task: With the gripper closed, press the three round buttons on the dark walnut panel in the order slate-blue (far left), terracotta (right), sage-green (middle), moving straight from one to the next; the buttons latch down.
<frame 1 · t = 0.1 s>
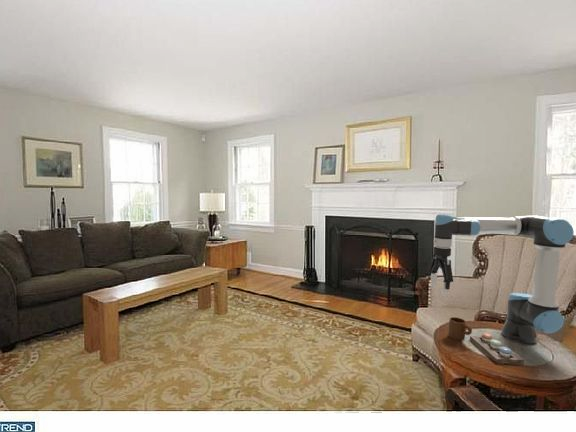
hand: (439, 290, 155), 28 cm above the table, fingers open, 13 cm apart
sage button: (495, 344, 154), point 3 cm above the table, slide at 0.0 cm
mug: (459, 339, 166), on the table
button panel: (494, 351, 155), on the table
blue button: (504, 352, 147), point 3 cm above the table, slide at 0.0 cm
terracotta button: (486, 337, 161), point 3 cm above the table, slide at 0.0 cm
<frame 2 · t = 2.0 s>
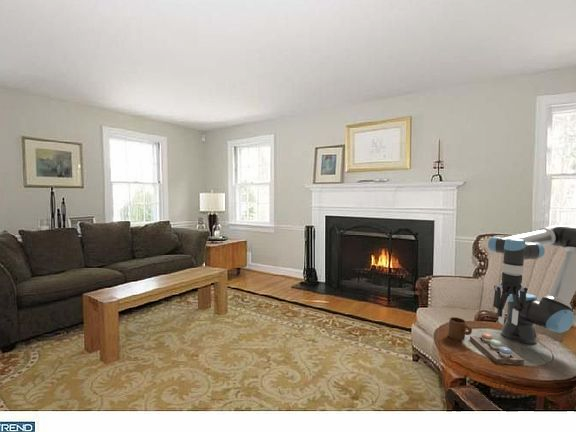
hand: (507, 323, 146), 17 cm above the table, fingers open, 5 cm apart
nothing on the table moved.
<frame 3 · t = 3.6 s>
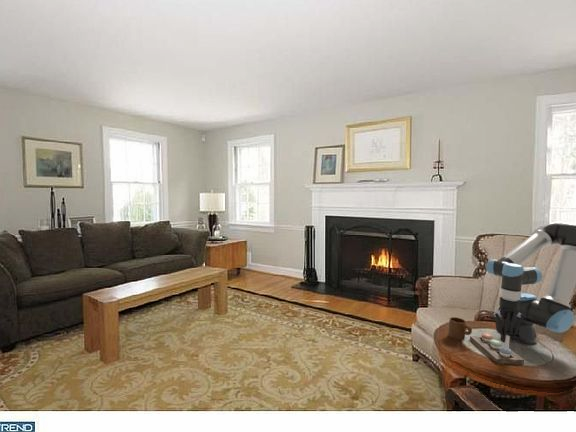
hand: (504, 348, 147), 5 cm above the table, fingers closed
blue button: (504, 352, 147), point 3 cm above the table, slide at 0.0 cm, touching gripper
everything else where it was.
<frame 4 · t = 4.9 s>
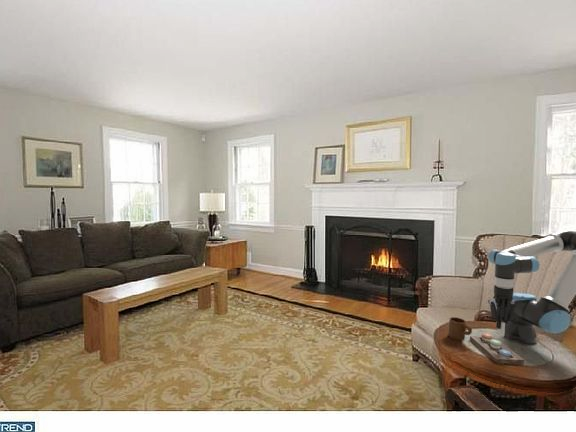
hand: (500, 335, 152), 9 cm above the table, fingers closed
blue button: (504, 354, 147), point 2 cm above the table, slide at -1.3 cm
everything else where it was.
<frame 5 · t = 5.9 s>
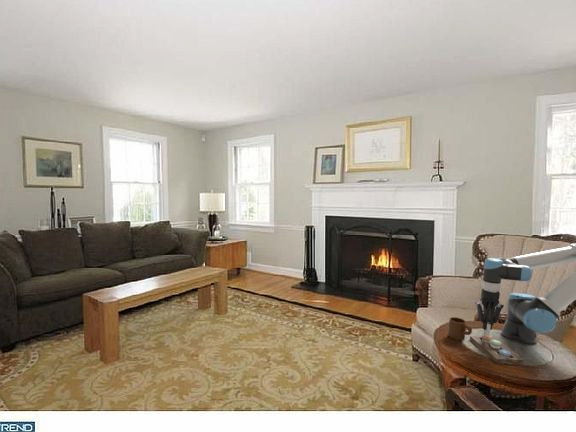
hand: (486, 335, 161), 4 cm above the table, fingers closed
terracotta button: (486, 339, 161), point 2 cm above the table, slide at -0.8 cm, touching gripper
everything else where it was.
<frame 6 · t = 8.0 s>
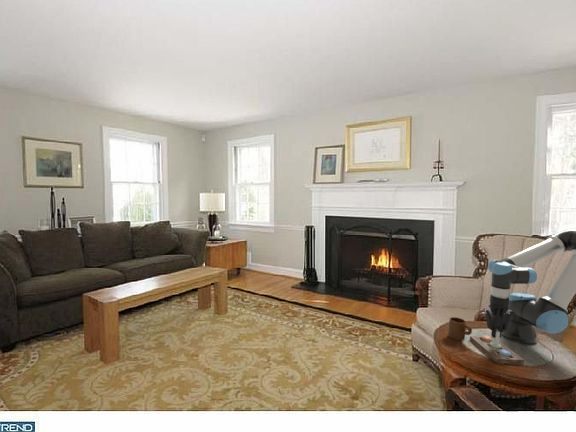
hand: (495, 343, 154), 4 cm above the table, fingers closed
sage button: (495, 347, 154), point 2 cm above the table, slide at -1.3 cm, touching gripper
terracotta button: (486, 340, 161), point 2 cm above the table, slide at -1.3 cm
everything else where it was.
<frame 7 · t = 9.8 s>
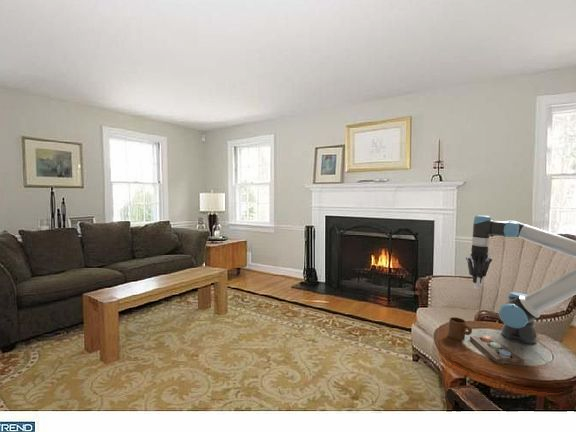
hand: (476, 288, 171), 24 cm above the table, fingers closed
sage button: (495, 347, 154), point 2 cm above the table, slide at -1.3 cm
everything else where it was.
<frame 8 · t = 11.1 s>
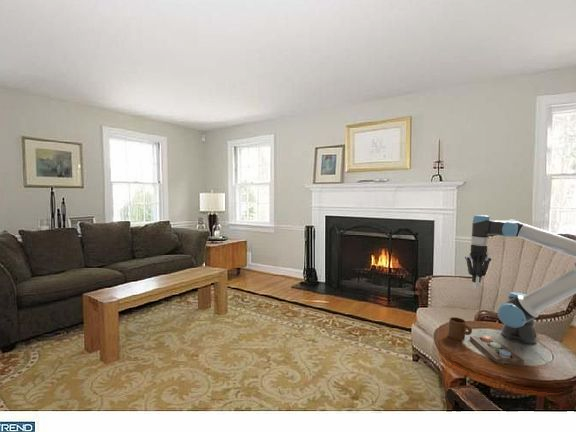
hand: (475, 288, 172), 24 cm above the table, fingers closed
nothing on the table moved.
at the end: blue button slide at -1.3 cm; terracotta button slide at -1.3 cm; sage button slide at -1.3 cm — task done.
